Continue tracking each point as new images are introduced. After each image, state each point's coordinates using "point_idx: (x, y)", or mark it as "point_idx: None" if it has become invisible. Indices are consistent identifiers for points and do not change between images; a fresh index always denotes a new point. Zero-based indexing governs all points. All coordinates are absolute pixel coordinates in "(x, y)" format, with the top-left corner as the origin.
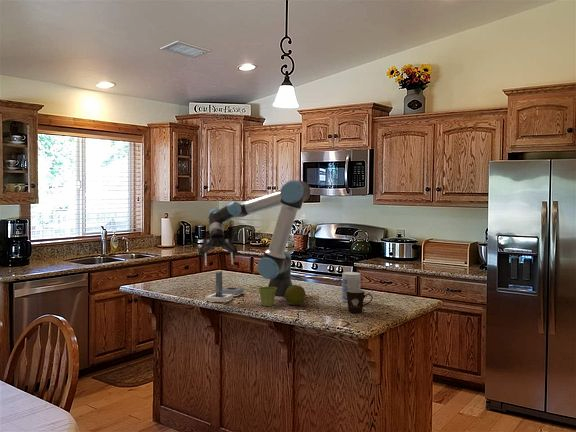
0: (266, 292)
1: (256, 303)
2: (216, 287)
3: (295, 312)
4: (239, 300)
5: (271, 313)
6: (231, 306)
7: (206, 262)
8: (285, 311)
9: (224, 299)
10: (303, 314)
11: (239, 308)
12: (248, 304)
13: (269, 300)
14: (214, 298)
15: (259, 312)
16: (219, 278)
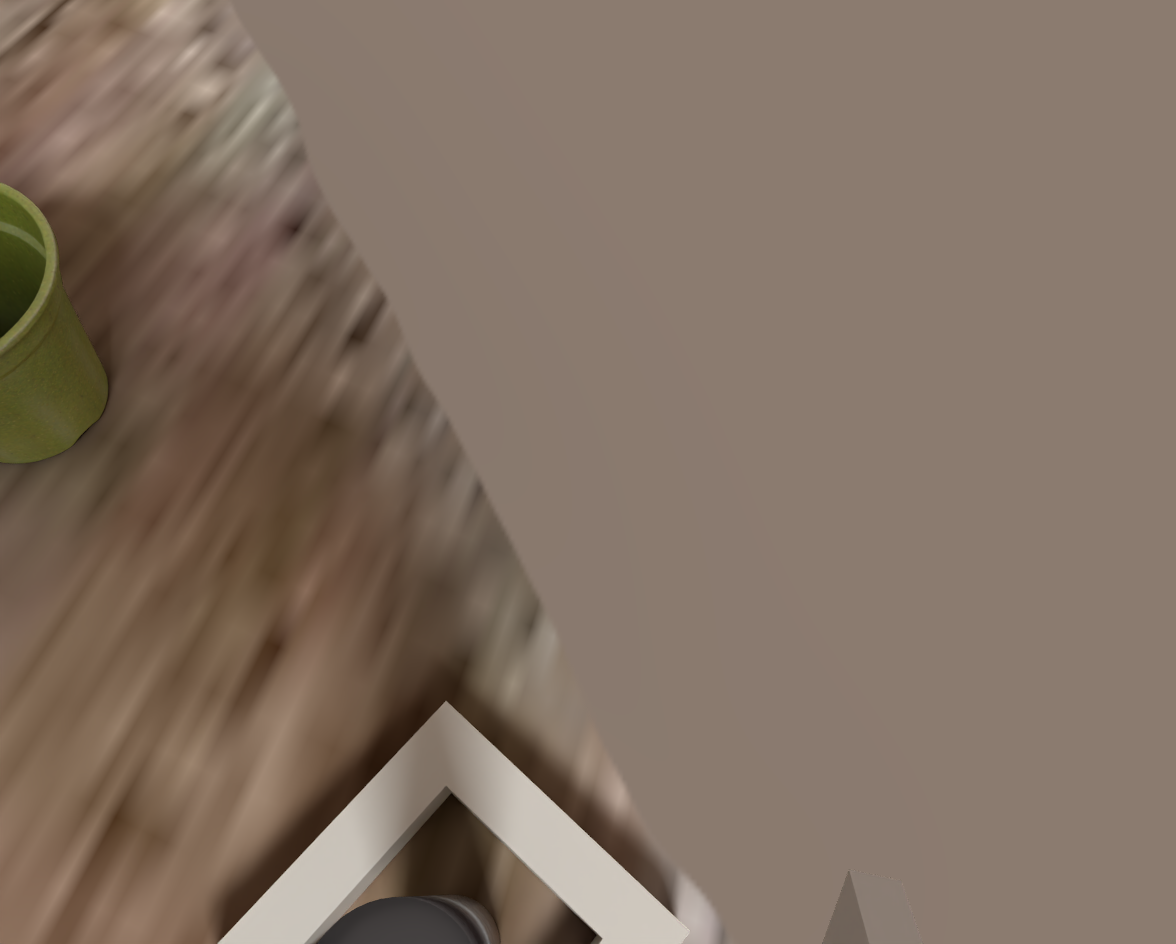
0: (20, 221)
1: (85, 544)
2: (491, 937)
3: (14, 74)
4: (175, 828)
5: (221, 120)
6: (434, 511)
7: (860, 879)
8: (64, 129)
9: (442, 709)
10: (8, 6)
11: (393, 390)
12: (203, 531)
13: (28, 294)
14: (561, 810)
15: (296, 184)
16: (426, 897)
